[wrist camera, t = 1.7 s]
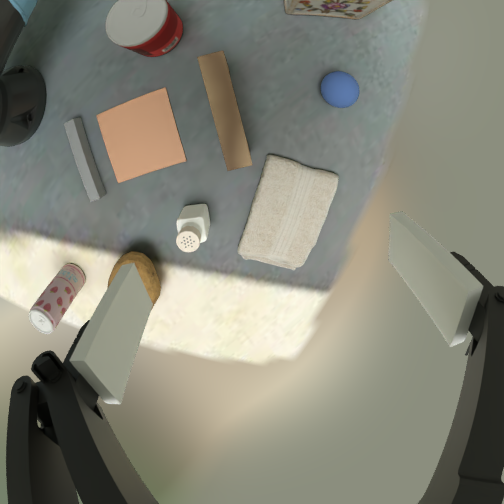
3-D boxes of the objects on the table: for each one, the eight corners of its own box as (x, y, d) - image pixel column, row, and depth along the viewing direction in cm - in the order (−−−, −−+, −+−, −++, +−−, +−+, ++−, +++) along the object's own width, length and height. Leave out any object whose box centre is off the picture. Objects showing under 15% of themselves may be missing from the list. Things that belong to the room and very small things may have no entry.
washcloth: (235, 251, 50) (235, 260, 48) (265, 150, 42) (267, 153, 40) (299, 266, 52) (302, 275, 50) (336, 172, 44) (342, 177, 41)
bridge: (230, 157, 42) (227, 171, 34) (206, 66, 35) (197, 57, 27) (249, 152, 42) (252, 165, 34) (226, 61, 35) (223, 50, 27)
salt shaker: (207, 201, 45) (199, 226, 37) (211, 225, 47) (205, 253, 39) (182, 205, 45) (170, 230, 37) (187, 227, 47) (176, 256, 39)
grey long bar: (71, 122, 37) (63, 123, 35) (80, 117, 37) (73, 118, 35) (96, 197, 44) (90, 202, 41) (106, 193, 44) (100, 198, 41)
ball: (313, 74, 36) (323, 71, 31) (347, 71, 36) (361, 68, 31) (320, 109, 39) (331, 110, 34) (354, 105, 38) (368, 106, 33)
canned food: (187, 10, 30) (171, -15, 21) (180, 57, 34) (161, 43, 24) (138, 14, 30) (110, -7, 20) (131, 59, 33) (100, 49, 24)
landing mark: (96, 115, 37) (96, 115, 37) (165, 87, 36) (165, 87, 36) (118, 182, 43) (118, 183, 43) (186, 160, 42) (186, 160, 42)
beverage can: (86, 268, 50) (52, 318, 37) (85, 289, 53) (54, 339, 40) (63, 258, 49) (25, 304, 36) (63, 280, 52) (29, 327, 38)
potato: (172, 249, 49) (162, 274, 42) (158, 308, 55) (149, 336, 48) (121, 232, 47) (103, 255, 40) (113, 293, 53) (99, 319, 46)
